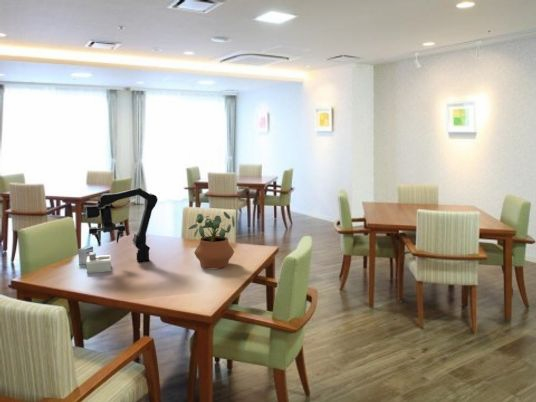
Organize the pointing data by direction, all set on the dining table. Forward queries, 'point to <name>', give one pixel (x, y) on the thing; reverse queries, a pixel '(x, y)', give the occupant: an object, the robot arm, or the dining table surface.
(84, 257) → the medicine box
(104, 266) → the keyhole plate
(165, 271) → the dining table surface
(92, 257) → the peg
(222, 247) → the potted plant
